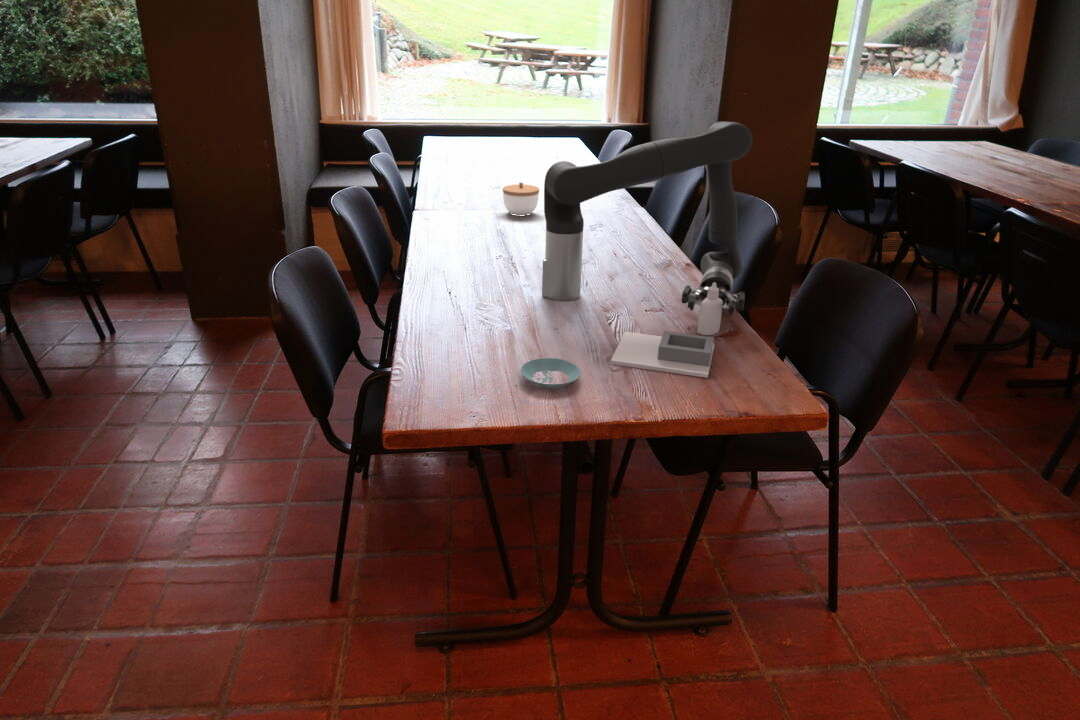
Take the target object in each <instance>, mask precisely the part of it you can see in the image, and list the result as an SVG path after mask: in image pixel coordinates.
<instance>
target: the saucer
mask: <svg viewBox="0 0 1080 720" xmlns="http://www.w3.org/2000/svg"><path fill="white" fill-rule="evenodd" d="M540 371H541V372H542V374H543V375H544V376H545V377H546V378H542V380H543V381H542V383H538V382H535V381H533V380H532V378H534V377H533V375H534V374H535V373H536V372H540ZM543 371H544V372H546V373H548V374H549V375H551V373H549V372H548V371H550V372H553V371H559V372H563V373H564V374H566V375H567V376H568V377H569V381H568V382H567V383H563V384H555V383H553V384H543V383H545V382H547V379H549V383H551V382H552V380H553V377H547V375H546V374H545V373H544V372H543ZM520 372H521V375H522V376H523V377H524V378H525V379H526V380H527V381H529V382H530V383H531V384H533V385H536V386H539V387H542V388H546V389H556V388H557V389H558V388H562V387H564V386H568V385H569V384H571V383H573V382H575V381H576V380H577V379H579V377H580V376H581V369H580V367H578V366H577V365H576V364H574V363H573V362H571V361H570V360H569V361H568V360H566V359H561V358H555V357H554V358H553V357H543V358H542V357H541V358H536V359H533V360H532V359H531V360H529V361H527V362H525V363H523V365H522V366H521V367H520ZM538 375H539V374H538ZM539 376H540V375H539ZM551 376H552V375H551ZM535 379H537V381H539V380H540V379H541V378H535Z"/></svg>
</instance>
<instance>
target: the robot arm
mask: <svg viewBox="0 0 1080 720" xmlns="http://www.w3.org/2000/svg"><path fill="white" fill-rule="evenodd" d="M749 129H750V128H748V127H747V126H745V125H744V124H742V123H739V122H738V121H737V122H735V121H724V120H723V121H717V122H715V123H713V124H712V125H711V126H710V127H708V129H707V130H706V133H702V134H699V135H694V136H687V137H674V138H665V139H659V140H653V141H649V142H646V143H642V144H637V145H635V146H632V147H630V148H627V149H626V150H623V151H622V152H619V154H617V155H615V156H613V157H612V158H610V159H608V160H606V161H603V162H599V163H594V164H589V165H583V166H577V165H575V164H574V163H572V162H570V161H566V160H563V161H557V162H556V163H554V164H552V165H551V166H550V167H549V169H548V170H547V172H546V174H545V178H544V187H543V188H544V189H543V190H544V191H543V192H544V193H543V196H544V197H543V201H544V203H543V204H544V205H543V213H544V219H545V254H544V255H545V258H544V259H543V260H542V277H541V279H542V281H541V283H542V285H541V297H545V298H547V299H550V300H554V301H562V302H564V301H565V302H567V301H574V300H576V299H579V298H580V296H581V290H582V289H581V287H582V286H581V285H582V284H581V283H582V268H583V267H582V263H583V261H582V260H583V241H584V226H585V225H584V218H583V217H584V216H583V214H582V210H581V204H582V203H584V202H587V201H589V200H591V199H593V198H596V197H599V196H602V195H604V194H607V193H610V192H613V191H614V192H615V191H618V190H622V189H623V190H624V189H627V188H631V187H632V188H633V187H635V186H640V185H643V184H648V183H653V182H656V181H660V180H662V179H663V180H664V179H666V178H669V177H672V176H677V175H678V174H681V173H684V172H687V171H691V170H693V169H696V168H700V167H704V166H707V167H706V168H707V179H708V193H709V214H708V215H709V217H708V218H709V219H708V239H709V242H711V243H713V244H717V245H720V246H723V247H725V248H726V250H727V251H709V252H706V253H704V254H703V256H702V258H701V260H700V271H701V274H702V278H701V281H700V284H699V287H698V288H697V289H693V287H692V286H691V285H685V287H684V289H682V293H681V300H680V301H681V302H680V303H681V304H687V308H688V309H689V310H690V311H694V308H695V306H696V305H698V306H700V305H701V302H702V301H703V300H704V299H705V298H707V294H708V288H709V287H712V284H713V283H716V287H717V288H718V289H719V295H718V298H720V299H721V300H722V301H723V307H722V309H728V310H727V315H728V316H731V315H732V314H735V312H736V309H737V310H738V311H744V308H745V307H744V305H745V301H746V295H745V294H746V293H745V292H744V291H739V293H733V292H732V291H733V283H734V281H733V280H735V279H737V278H739V277H740V275H741V273H742V271H743V262H742V258H741V254H740V250H739V244H738V237H737V234H738V230H737V228H738V205H737V199H736V195H735V191H734V185H733V180H732V164H733V162H734V161H738V160H739V159H742V158H743V157H744V156H746V155H747V154H748V152H750V150H751V147H752V144H753V134H752V132H751V130H749Z"/></svg>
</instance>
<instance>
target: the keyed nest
mask: <svg viewBox="0 0 1080 720" xmlns="http://www.w3.org/2000/svg"><path fill="white" fill-rule="evenodd" d="M714 339H715V337H713V336H708V335H707V336H704V335H700V334H699V335H697V334H693V333H692V334H690V333H683V332H676V331H668V330H664V332H663V334H662V336H660V335H654V334H646V333H638V332H629V331H624V333H623V335H622V337H621V338H620V341H619V342H618V345H617V347H616V349H615V351H614V353H613V355H612V357H611V360H610V364H611V365H615V364H616V365H615V366H624V367H630V368H638V369H642V370H643V369H645V370H650V371H651V370H652V371H657V372H664V373H665V372H666V373H671V374H677V375H678V374H679V375H685V376H693V377H700V378H705V379H708V378H709V373H710V368H711V364H712V358H713V355H714V354H713V353H714V349H715V343H714Z"/></svg>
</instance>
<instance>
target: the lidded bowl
mask: <svg viewBox="0 0 1080 720" xmlns="http://www.w3.org/2000/svg"><path fill="white" fill-rule="evenodd" d="M502 193H503V194H502V195H503V196H502V197H503V204H504V206H505V209H506V210H507V212H509V214H511V213H512V214H516V215H527V214H531V215H532V214H533V212H534V211H535V210H536V208H537V206H538V203H539V193H540V188H539V187H537V186H535V185H531V184H524V182H522V181H521V182H519V183H518V184H509V185H505V186H504V187H503V188H502Z"/></svg>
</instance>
